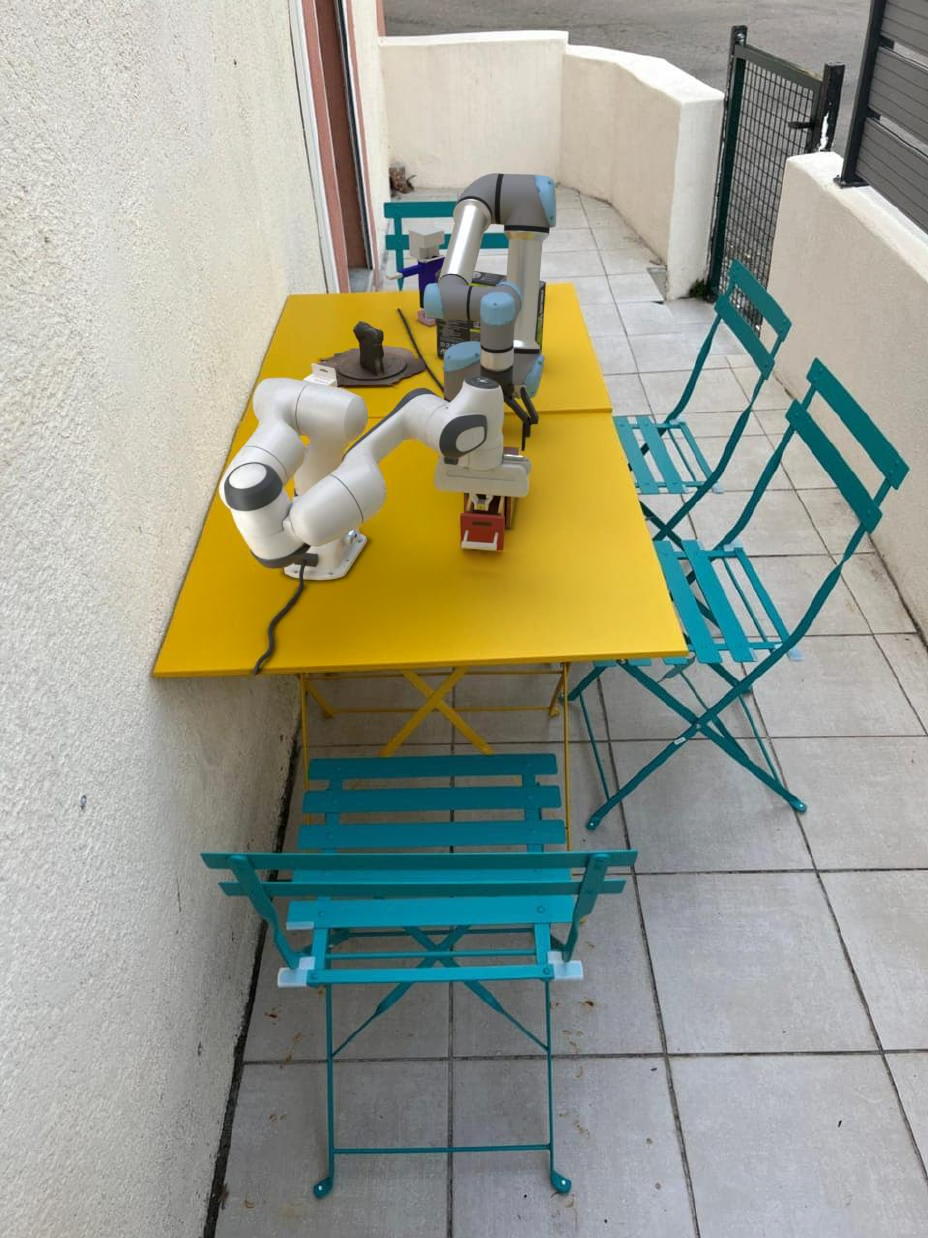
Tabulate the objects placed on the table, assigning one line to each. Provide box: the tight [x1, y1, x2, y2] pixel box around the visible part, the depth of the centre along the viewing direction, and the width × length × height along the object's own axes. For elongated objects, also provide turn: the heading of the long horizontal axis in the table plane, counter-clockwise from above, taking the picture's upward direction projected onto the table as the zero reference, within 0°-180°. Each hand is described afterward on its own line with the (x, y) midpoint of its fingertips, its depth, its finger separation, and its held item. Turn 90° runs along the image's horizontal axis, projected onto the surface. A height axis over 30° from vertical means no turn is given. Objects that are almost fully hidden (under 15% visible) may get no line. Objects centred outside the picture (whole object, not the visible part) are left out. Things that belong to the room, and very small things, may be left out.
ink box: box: [302, 363, 338, 387], centre depth 249 cm, size 9×5×15 cm, turn 62°
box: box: [435, 269, 547, 359], centre depth 273 cm, size 34×7×27 cm, turn 68°
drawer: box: [459, 494, 507, 551], centre depth 204 cm, size 25×10×9 cm, turn 172°
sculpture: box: [316, 320, 426, 387], centre depth 273 cm, size 33×35×16 cm
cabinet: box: [463, 445, 520, 530], centre depth 215 cm, size 20×11×11 cm, turn 172°
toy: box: [384, 223, 446, 327], centre depth 298 cm, size 35×10×30 cm, turn 130°
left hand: (481, 508), depth 192 cm, fingers closed
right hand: (495, 446), depth 215 cm, fingers open, 13 cm apart
